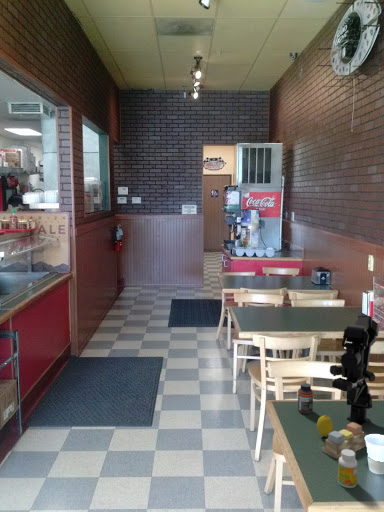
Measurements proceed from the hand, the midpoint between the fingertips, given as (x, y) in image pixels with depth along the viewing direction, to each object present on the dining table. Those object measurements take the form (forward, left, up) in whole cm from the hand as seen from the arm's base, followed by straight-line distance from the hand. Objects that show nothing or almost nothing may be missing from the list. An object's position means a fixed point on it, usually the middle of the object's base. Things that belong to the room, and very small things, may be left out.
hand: (353, 402), depth 170 cm
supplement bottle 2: (+28, +17, -12) cm, 35 cm away
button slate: (+16, +5, -9) cm, 19 cm away
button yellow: (+11, +4, -10) cm, 16 cm away
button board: (+11, +4, -12) cm, 17 cm away
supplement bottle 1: (-2, -23, -12) cm, 26 cm away
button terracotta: (+6, +4, -9) cm, 12 cm away
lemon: (+9, -5, -12) cm, 16 cm away
